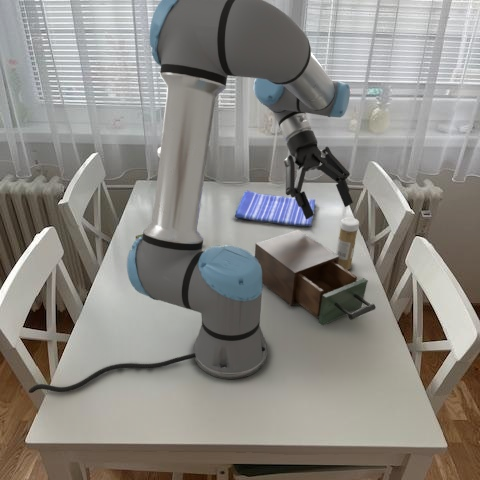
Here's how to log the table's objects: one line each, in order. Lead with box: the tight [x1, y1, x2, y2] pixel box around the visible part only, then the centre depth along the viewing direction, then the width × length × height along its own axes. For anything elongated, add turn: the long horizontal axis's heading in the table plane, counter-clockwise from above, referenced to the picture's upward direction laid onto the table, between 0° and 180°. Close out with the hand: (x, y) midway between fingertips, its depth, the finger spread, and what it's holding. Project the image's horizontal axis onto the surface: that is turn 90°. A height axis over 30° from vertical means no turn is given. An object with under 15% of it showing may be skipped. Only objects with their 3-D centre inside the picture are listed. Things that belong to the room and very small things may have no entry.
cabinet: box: [254, 229, 339, 307], centre depth 122 cm, size 16×14×10 cm
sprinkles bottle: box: [335, 217, 360, 271], centre depth 127 cm, size 5×5×13 cm
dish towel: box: [234, 190, 316, 227], centre depth 155 cm, size 17×24×3 cm
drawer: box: [294, 261, 376, 326], centre depth 113 cm, size 20×12×8 cm, turn 34°
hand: (330, 211), depth 128 cm, fingers open, 13 cm apart
